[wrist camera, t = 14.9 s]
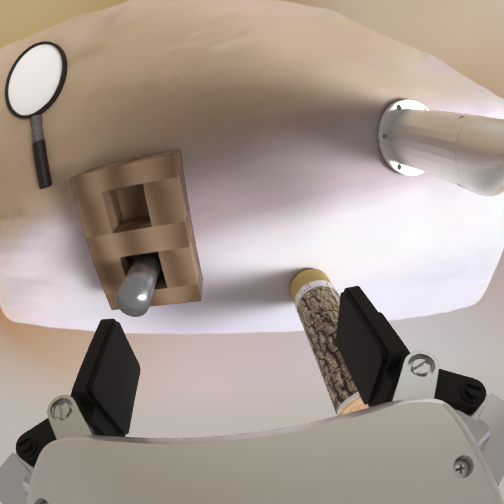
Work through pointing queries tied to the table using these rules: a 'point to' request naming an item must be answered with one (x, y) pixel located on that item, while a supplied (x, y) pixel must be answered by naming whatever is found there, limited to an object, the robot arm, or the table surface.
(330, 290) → the bark pattern cylinder
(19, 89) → the magnifying glass
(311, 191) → the table surface
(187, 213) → the brown rectangular block
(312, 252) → the table surface
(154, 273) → the steel pin
